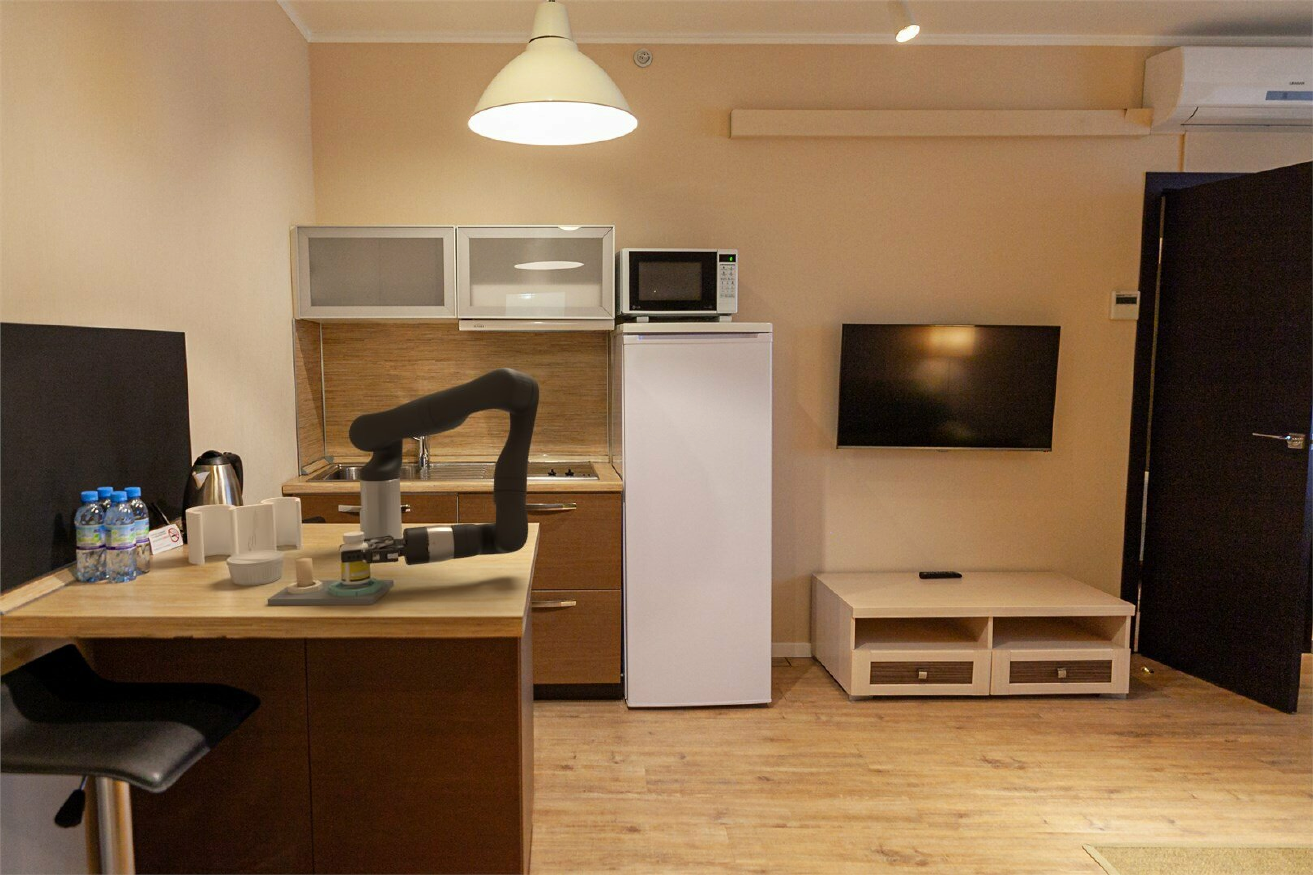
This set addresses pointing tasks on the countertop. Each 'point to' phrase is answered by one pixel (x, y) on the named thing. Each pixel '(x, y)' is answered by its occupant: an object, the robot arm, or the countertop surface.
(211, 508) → the bracket
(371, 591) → the socket board
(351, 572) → the supplement bottle
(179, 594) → the countertop surface
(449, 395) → the robot arm
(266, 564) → the ramekin
